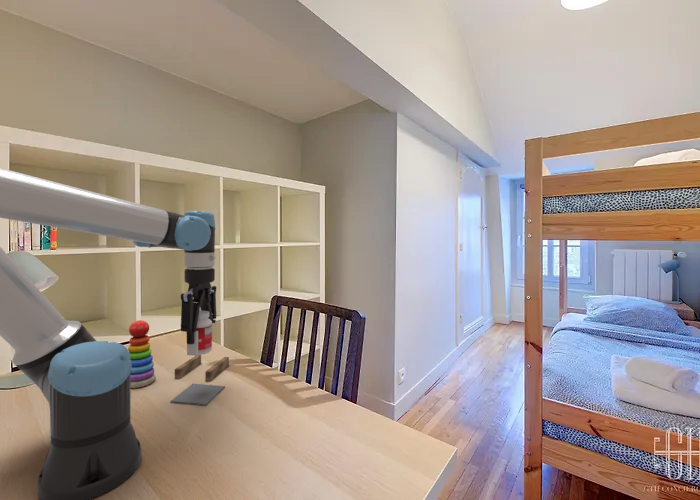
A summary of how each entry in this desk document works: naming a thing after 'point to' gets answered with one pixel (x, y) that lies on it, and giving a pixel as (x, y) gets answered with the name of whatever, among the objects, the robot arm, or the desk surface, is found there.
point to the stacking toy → (140, 355)
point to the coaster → (198, 394)
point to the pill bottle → (204, 333)
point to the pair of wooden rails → (196, 361)
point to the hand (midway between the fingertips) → (199, 350)
